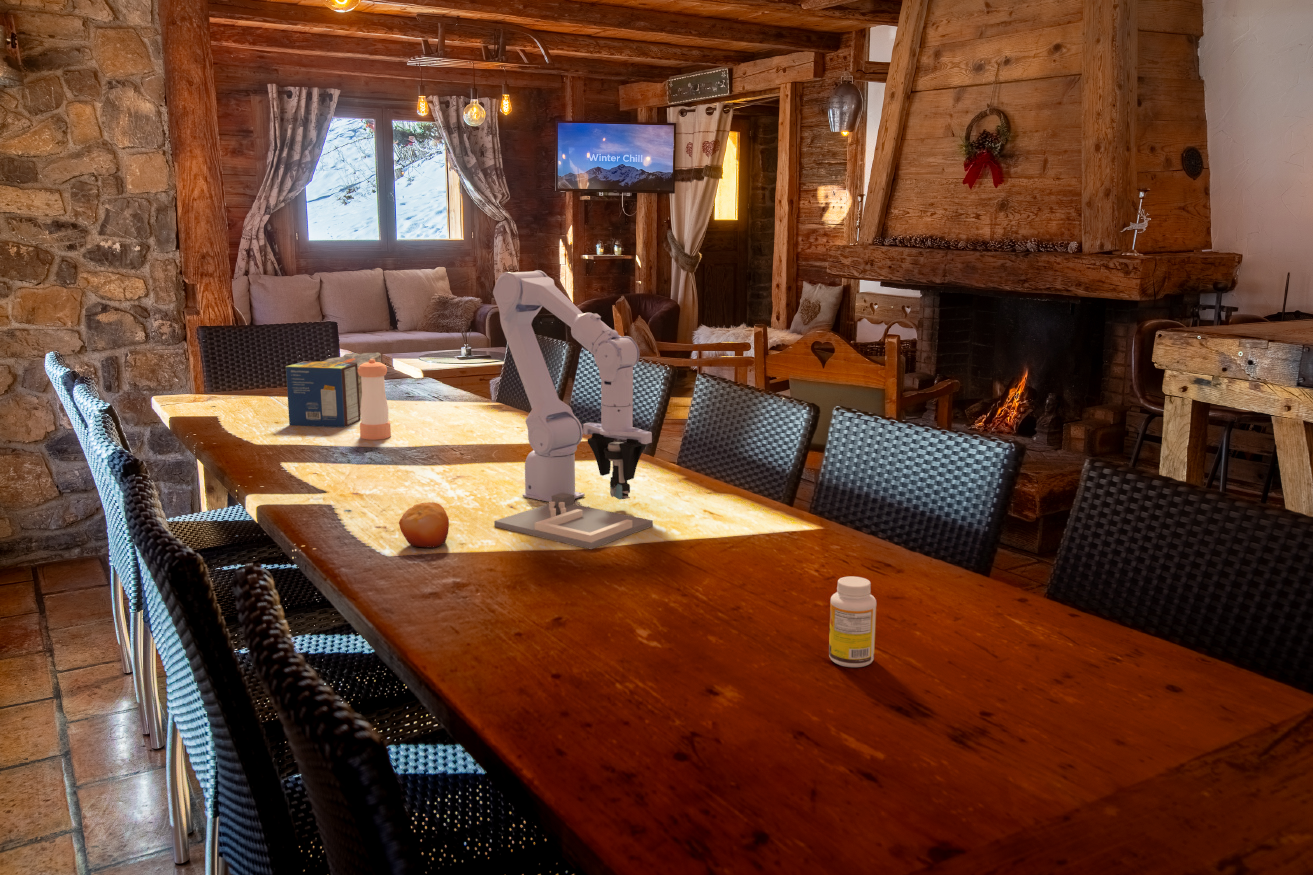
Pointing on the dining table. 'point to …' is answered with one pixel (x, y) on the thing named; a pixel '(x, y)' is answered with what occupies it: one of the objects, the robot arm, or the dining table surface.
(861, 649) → the supplement bottle
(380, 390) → the salt shaker
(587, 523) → the mat
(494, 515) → the dining table surface
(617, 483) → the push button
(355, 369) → the protein box
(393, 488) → the dining table surface
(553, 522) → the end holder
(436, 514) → the fruit
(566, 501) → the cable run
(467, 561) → the dining table surface
